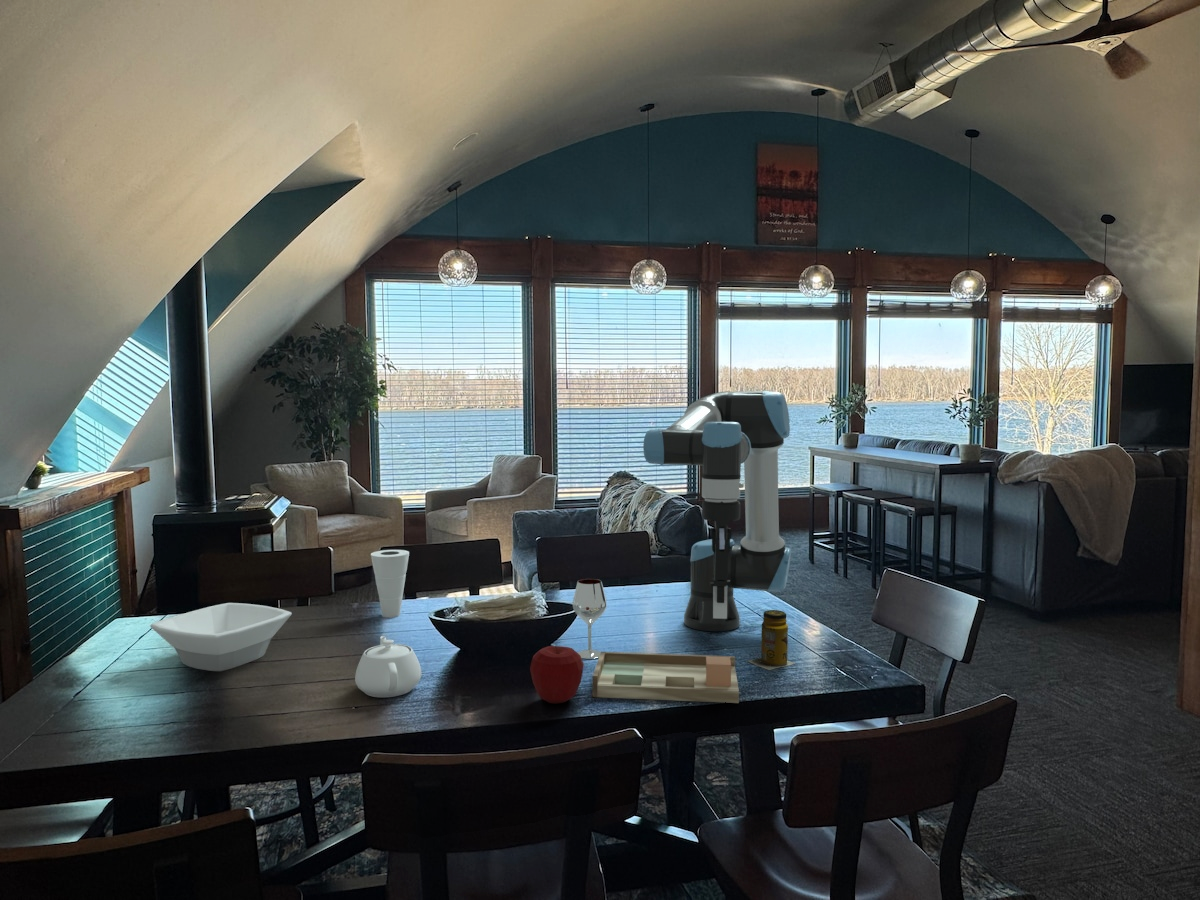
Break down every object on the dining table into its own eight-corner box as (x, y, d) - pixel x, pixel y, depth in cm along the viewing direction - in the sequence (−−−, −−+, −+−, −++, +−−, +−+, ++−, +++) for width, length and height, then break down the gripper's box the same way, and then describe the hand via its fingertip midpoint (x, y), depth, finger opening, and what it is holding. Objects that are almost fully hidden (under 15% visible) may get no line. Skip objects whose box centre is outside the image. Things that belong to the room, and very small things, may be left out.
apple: (540, 714, 157) (539, 656, 156) (523, 696, 166) (522, 641, 166) (591, 706, 161) (591, 649, 160) (572, 688, 171) (572, 634, 170)
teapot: (428, 702, 163) (428, 651, 162) (359, 712, 158) (358, 658, 157) (413, 668, 183) (412, 622, 183) (351, 676, 179) (350, 629, 178)
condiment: (795, 664, 187) (796, 613, 186) (769, 671, 182) (770, 619, 181) (772, 655, 193) (773, 606, 192) (746, 662, 188) (747, 612, 187)
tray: (601, 671, 182) (601, 651, 181) (734, 676, 178) (734, 656, 178) (592, 697, 166) (592, 675, 166) (738, 703, 162) (739, 681, 162)
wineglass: (611, 651, 196) (611, 579, 194) (600, 662, 188) (600, 586, 187) (579, 648, 198) (579, 576, 197) (567, 658, 191) (567, 584, 189)
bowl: (302, 651, 196) (301, 610, 195) (214, 684, 173) (213, 638, 173) (232, 639, 206) (230, 600, 206) (140, 669, 184) (138, 625, 183)
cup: (404, 620, 223) (403, 556, 222) (367, 620, 223) (365, 556, 222) (414, 610, 234) (413, 549, 233) (378, 610, 234) (376, 549, 233)
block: (706, 677, 170) (706, 656, 170) (729, 678, 170) (729, 657, 170) (706, 685, 166) (706, 664, 165) (730, 686, 165) (731, 665, 165)
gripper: (742, 504, 151) (741, 627, 152) (738, 496, 164) (737, 609, 165) (702, 503, 152) (701, 625, 153) (701, 495, 165) (700, 608, 166)
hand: (720, 617), depth 159 cm, fingers closed
